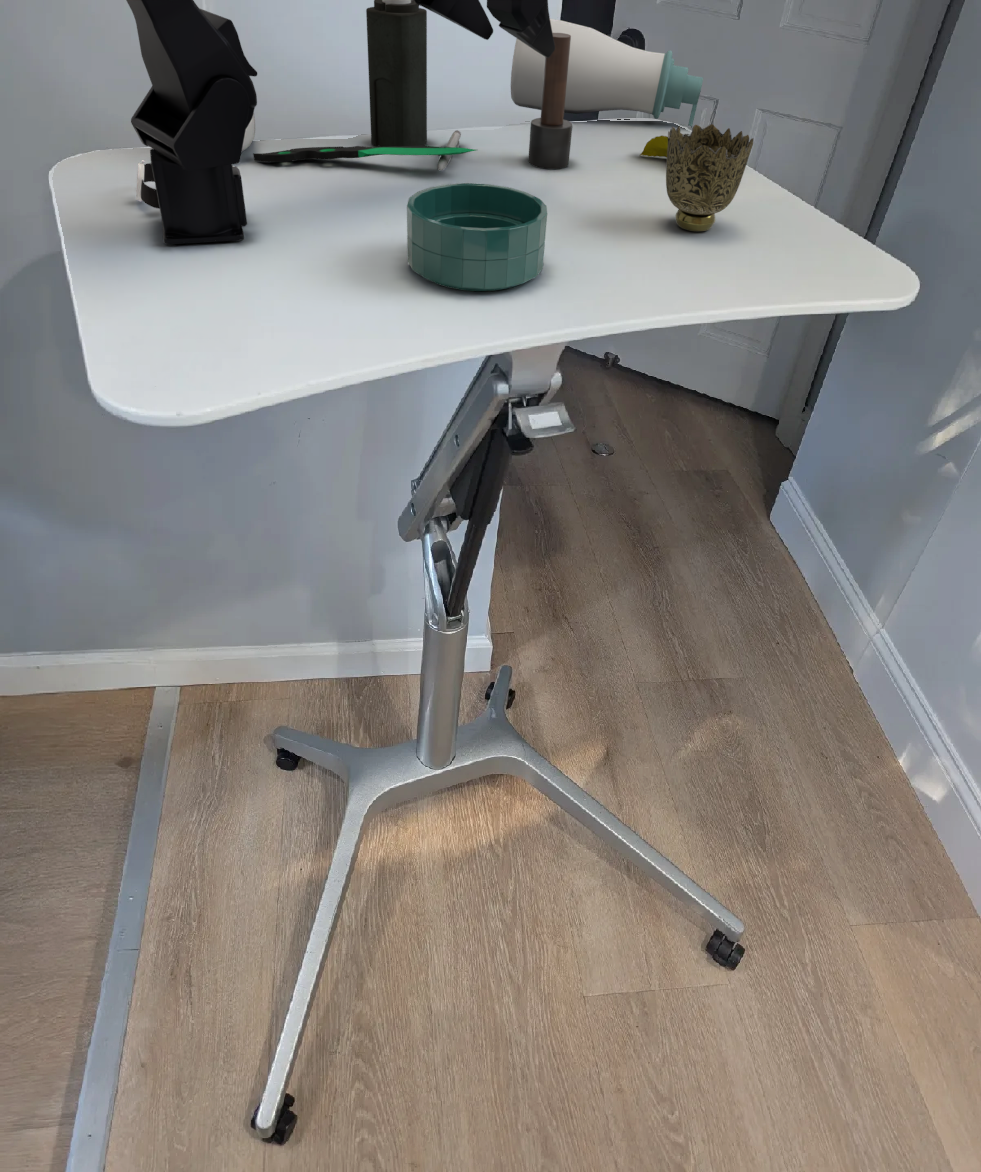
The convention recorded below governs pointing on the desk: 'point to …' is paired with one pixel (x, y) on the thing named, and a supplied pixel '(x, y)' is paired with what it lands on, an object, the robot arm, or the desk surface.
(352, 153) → the knife
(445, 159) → the pen
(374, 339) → the desk surface
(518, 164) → the desk surface
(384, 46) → the dark bottle
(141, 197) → the watch
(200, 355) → the desk surface
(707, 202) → the cup
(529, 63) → the soap bottle
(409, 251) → the bowl
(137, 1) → the robot arm
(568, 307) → the desk surface
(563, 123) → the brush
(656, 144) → the decorative leaf
